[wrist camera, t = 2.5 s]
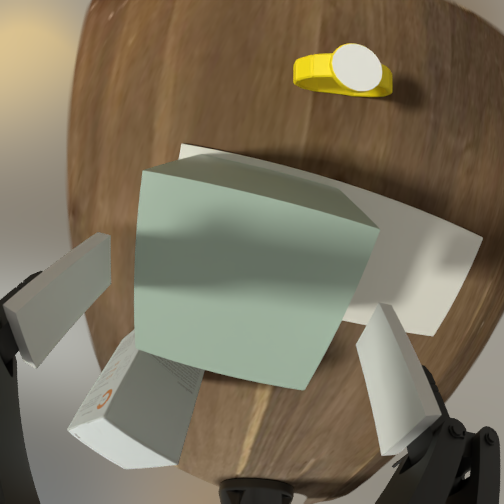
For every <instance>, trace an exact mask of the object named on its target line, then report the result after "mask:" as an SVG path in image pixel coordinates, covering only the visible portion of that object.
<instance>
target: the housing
mask: <svg viewBox="0 0 504 504" xmlns="http://www.w3.org/2000/svg"><path fill="white" fill-rule="evenodd" d="M379 232H380V228H379V227H378V226H377V225H376V224H375V223H374V222H373V221H372V220H371V219H370V218H369V217H368V216H367V215H366V214H365V213H364V212H363V211H362V210H361V209H360V208H358V207H357V206H356V205H355V204H354V203H353V202H352V201H351V200H350V199H349V198H348V197H347V196H346V195H345V194H344V193H343V192H342V191H341V190H339V189H338V188H335V187H332V186H328V185H325V184H321V183H318V182H315V181H311V180H308V179H304V178H300V177H297V176H293V175H289V174H285V173H282V172H278V171H274V170H270V169H266V168H262V167H257V166H253V165H249V164H245V163H240V162H236V161H231V160H227V159H222V158H217V157H212V156H207V155H202V154H199V155H195V156H191V157H187V158H183V159H180V160H176V161H172V162H169V163H165V164H162V165H159V166H155V167H152V168H149V169H145V170H143V173H142V181H141V189H140V199H139V209H138V220H137V233H136V249H135V276H134V323H135V348H136V349H139V350H142V351H145V352H147V353H150V354H153V355H156V356H159V357H163V358H166V359H169V360H172V361H175V362H179V363H182V364H185V365H189V366H192V367H196V368H200V369H203V370H207V371H211V372H215V373H219V374H223V375H227V376H231V377H236V378H240V379H245V380H249V381H254V382H259V383H264V384H269V385H274V386H280V387H286V388H292V389H298V390H305V388H306V386H307V385H308V383H309V381H310V380H311V378H312V376H313V374H314V372H315V371H316V369H317V367H318V365H319V363H320V362H321V360H322V358H323V356H324V354H325V352H326V350H327V348H328V347H329V345H330V343H331V341H332V339H333V337H334V335H335V333H336V331H337V329H338V327H339V325H340V323H341V321H342V319H343V317H344V314H345V312H346V310H347V308H348V306H349V304H350V302H351V299H352V297H353V295H354V293H355V291H356V288H357V286H358V284H359V282H360V279H361V277H362V275H363V272H364V270H365V267H366V265H367V263H368V260H369V258H370V255H371V253H372V250H373V248H374V245H375V242H376V240H377V237H378V235H379Z"/></svg>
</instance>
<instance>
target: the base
mask: <svg viewBox="0 0 504 504" xmlns="http://www.w3.org/2000/svg"><path fill="white" fill-rule="evenodd" d="M199 154H202V155H207V156H212V157H217V158H222V159H227V160H231V161H236V162H240V163H245V164H249V165H253V166H257V167H262V168H266V169H270V170H274V171H278V172H282V173H285V174H289V175H293V176H297V177H300V178H304V179H308V180H311V181H315V182H318V183H321V184H325V185H328V186H332V187H335V188H338V189H339V190H341V191H342V192H343V193H344V194H345V195H346V196H347V197H348V198H349V199H350V200H351V201H352V202H353V203H354V204H355V205H356V206H357V207H358V208H360V209H361V210H362V211H363V212H364V213H365V214H366V215H367V216H368V217H369V218H370V219H371V220H372V221H373V222H374V223H375V224H376V225H377V226H378V227H379V228H380V232H379V235H378V237H377V240H376V242H375V245H374V248H373V250H372V253H371V255H370V258H369V260H368V263H367V265H366V267H365V270H364V272H363V275H362V277H361V279H360V282H359V284H358V286H357V288H356V291H355V293H354V295H353V297H352V299H351V302H350V304H349V306H348V308H347V310H346V312H345V314H344V317H343V319H342V320H343V321H348V322H353V323H358V324H363V325H367V324H368V322H369V320H370V318H371V317H372V315H373V313H374V311H375V309H376V307H377V305H378V303H384V304H389V305H392V307H393V309H394V311H395V312H396V314H397V316H398V318H399V320H400V322H401V324H402V326H403V328H404V330H405V332H409V333H415V334H421V335H427V336H434V334H435V333H436V331H437V329H438V328H439V326H440V324H441V323H442V321H443V319H444V318H445V316H446V314H447V313H448V311H449V309H450V307H451V305H452V304H453V302H454V300H455V298H456V296H457V294H458V292H459V290H460V288H461V286H462V284H463V282H464V280H465V278H466V276H467V274H468V272H469V270H470V268H471V266H472V263H473V261H474V259H475V257H476V254H477V252H478V250H479V247H480V245H481V242H482V240H483V237H481V236H479V235H477V234H475V233H473V232H470V231H468V230H466V229H464V228H462V227H459V226H457V225H455V224H453V223H450V222H448V221H446V220H444V219H441V218H439V217H436V216H434V215H432V214H429V213H427V212H424V211H422V210H419V209H417V208H414V207H412V206H409V205H407V204H404V203H401V202H399V201H396V200H393V199H390V198H388V197H385V196H382V195H379V194H377V193H374V192H371V191H368V190H365V189H362V188H359V187H356V186H353V185H350V184H347V183H343V182H340V181H337V180H334V179H331V178H327V177H324V176H321V175H317V174H314V173H310V172H307V171H303V170H299V169H296V168H292V167H288V166H284V165H281V164H277V163H273V162H269V161H265V160H260V159H256V158H252V157H248V156H243V155H239V154H234V153H229V152H225V151H220V150H215V149H210V148H204V147H199V146H193V145H188V144H181V150H180V155H179V160H180V159H183V158H187V157H191V156H195V155H199Z"/></svg>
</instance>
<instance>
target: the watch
mask: <svg viewBox="0 0 504 504" xmlns="http://www.w3.org/2000/svg"><path fill="white" fill-rule="evenodd" d="M293 83H294V84H295V85H297V86H298V87H300V88H303V89H306V90H311V91H315V92H326V93H334V94H342V95H349V96H353V97H354V96H355V97H384V96H387V95H389V94H391V93H392V73H391V71H390V70H389V68H388V67H386V66H385V65H383V64H381V63H380V62H379V60H378V58H377V56H376V55H375V54H374V53H373V52H372V51H371V50H369V49H368V48H366V47H365V46H362V45H359V44H351V43H349V44H345V45H341V46H340V47H338V48H337V49H336V50H335V51H334V52H333V53H332V54H314V55H309V56H306V57H302V58H299V59H297V60H296V62H295V64H294V74H293Z"/></svg>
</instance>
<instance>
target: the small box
mask: <svg viewBox="0 0 504 504" xmlns="http://www.w3.org/2000/svg"><path fill="white" fill-rule="evenodd" d="M204 372H205V370H203V369H200V368H196V367H192V366H189V365H185V364H182V363H179V362H175V361H172V360H169V359H166V358H163V357H159V356H156V355H153V354H150V353H147V352H145V351H142V350H139V349H136V348H135V329H134V330H133V331H132V332H131V333H129V334H128V335H127V336H126V337H125V338H123V340H122V341H121V343H120V344H119V346H118V347H117V349H116V351H115V352H114V354H113V355H112V357H111V359H110V360H109V362H108V363H107V365H106V367H105V368H104V370H103V371H102V373H101V374H100V376H99V378H98V379H97V381H96V382H95V384H94V385H93V387H92V388H91V390H90V392H89V393H88V395H87V397H86V398H85V400H84V402H83V403H82V405H81V407H80V408H79V410H78V412H77V413H76V415H75V417H74V419H73V420H72V422H71V424H70V426H69V427H68V429H67V430H68V431H69V432H70V433H71V434H72V435H73V436H75V437H76V438H77V439H78V440H80V441H81V442H83V443H84V444H86V445H87V446H88V447H90V448H91V449H93V450H94V451H96V452H97V453H98V454H100V455H102V456H103V457H105V458H107V459H108V460H110V461H111V462H113V463H115V464H117V465H118V466H120V467H122V468H124V469H138V468H151V467H162V466H170V465H178V463H179V459H180V456H181V452H182V449H183V445H184V442H185V438H186V434H187V431H188V427H189V424H190V420H191V417H192V413H193V410H194V406H195V403H196V399H197V396H198V392H199V389H200V385H201V382H202V379H203V375H204Z"/></svg>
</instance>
